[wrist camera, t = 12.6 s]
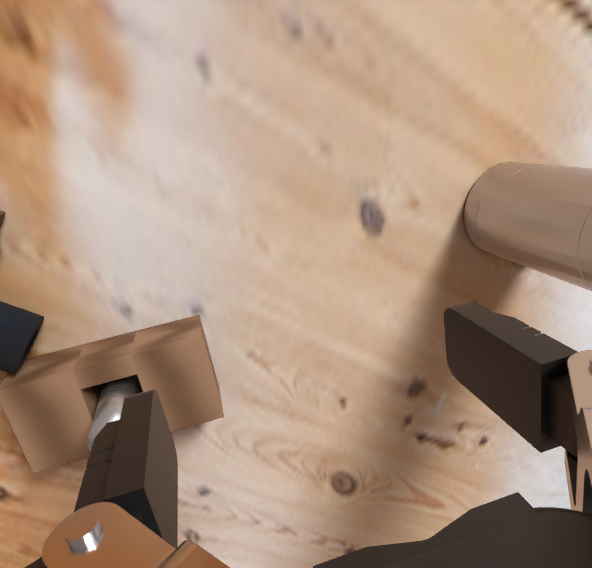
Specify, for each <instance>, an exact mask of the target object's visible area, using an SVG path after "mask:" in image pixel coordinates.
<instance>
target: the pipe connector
mask: <svg viewBox="0 0 592 568" xmlns="http://www.w3.org/2000/svg"><path fill="white" fill-rule="evenodd" d="M4 216H5V212H3V211H0V226H1V223H2V221H3V218H4ZM43 320H44V316H41V315H38V314H35V313H32V312H29V311H26V310H24V309H21V308H18V307H15V306H12V305H9V304H7V303H4V302H1V301H0V370H1V371H5V372H8V373H11V374H17V372H18V371H19V369H20V368H21V366H22V365H23V363H24V361H25V359H26V357H27V356H28V354H29V352H30V350H31V348H32V346H33V344H34V341H35V339H36V337H37V334H38V332H39V330H40V328H41V325H42V323H43Z"/></svg>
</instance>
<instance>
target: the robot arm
mask: <svg viewBox="0 0 592 568" xmlns="http://www.w3.org/2000/svg"><path fill="white" fill-rule="evenodd" d="M464 221H465V228H466V231H467V233H468V236H469V237H470V239H471V240H472V242H473V243H474V244H475V245H476V246H477V247H478V248H480V249H482V250H484V251H486V252H489V253H491V254H494V255H497V256H499V257H502V258H505V259H507V260H510V261H512V262H515V263H517V264H520V265H523V266H526V267H528V268H531V269H534V270H536V271H539V272H542V273H544V274H547V275H550V276H553V277H555V278H558V279H561V280H563V281H566V282H569V283H571V284H574V285H577V286H579V287H582V288H585V289H588V290H590V291H592V169H591V168H578V167H565V166H553V165H542V164H529V163H513V162H508V163H503V164H499V165H497V166H495V167H493V168H491V169H489V170H488V171H487V172H485V173H484V174H483V175H482V176H481V177H480V178H479V179H478V180H477V181H476V183H475V184H474V186H473V187H472V189H471V191H470V193H469V196H468V198H467V201H466V205H465V210H464ZM444 326H445V340H446V354H447V362H448V365H449V368H450V370H451V372H452V374H453V376H454V377H455V378H456V379H457V380H458V381H459V382H460V383H461V384H462V385H464V386H465V387H466V388H467V389H468V390H469V391H470V392H472V393H473V394H474V395H475V396H476V397H477V398H478V399H480V400H481V401H482V402H483V403H484V404H485V405H486V406H488V407H489V408H490V409H491V410H492V411H493V412H494V413H496V414H497V415H498V416H499V417H500V418H501V419H502V420H504V421H505V422H506V423H507V424H508V425H509V426H511V427H512V428H513V429H514V430H515V431H516V432H517V433H519V434H520V435H521V436H522V437H523V438H524V439H525V440H527V441H528V442H529V443H530V444H531V445H532V446H533V447H535V448H536V449H537V450H538V451H539V452H540V453H541V452H544V451H547V450H550V449H553V448H556V447H559V446H562V447H563V448H565V468H566V475H567V483H568V490H569V497H570V504H571V510H570V509H563V508H553V507H538V508H533V507H532V506H531V505H530V504H529V503H528V502H527V501H526V500H525V499H524V498H523V497H522V496H521V495H520V494H519V493H518V492H517V493H514V494H511V495H509V496H506V497H503V498H500V499H498V500H495V501H492V502H489V503H487V504H484V505H481V506H478V507H476V508H473V509H470V510H469V511H468V512H466V513H465V514H463V515H462V516H461V517H459V518H458V519H456V520H455V521H454V522H452V523H451V524H449V525H448V526H447V527H445V528H444V529H442V530H441V531H439V532H438V533H437V534H435V535H434V536H432V537H431V538H429V539H427V540H423V541H416V542H407V543H398V544H389V545H380V546H372V547H365V548H363V549H360V550H357V551H354V552H352V553H349V554H346V555H343V556H340V557H338V558H335V559H332V560H329V561H327V562H324V563H321V564H318V565H316V566H313V568H592V350H586V351H581V352H577V351H575V350H573V349H571V348H570V347H568V346H566V345H564V344H562V343H560V342H558V341H557V340H555V339H553V338H551V337H549V336H547V335H545V334H541V332H540V331H538V330H536V329H534V328H532V327H530V328H529V325H527V324H525V323H523V322H521V321H519V320H518V319H516V318H513V317H510V316H506V315H502V314H498V313H493V312H492V311H490V310H488V309H486V308H484V307H483V306H481V305H479V304H477V303H475V302H468V303H465V304H461V305H457V306H454V307H450V308H447V309H446V310H445V313H444ZM86 467H87V470H85V474H84V477H83V481H82V484H81V488H80V492H79V495H78V499H77V502H76V506H75V510H74V513H72V514H71V515H69V516H68V517H66V518H65V519H64V520H63V521H61V522H60V523H59V524H58V525H57V526H56V527H55V528H54V529H53V531H52V532H51V533H50V534H49V536H48V538H47V539H46V541H45V543H44V546H43V549H42V557H40V558H39V559H38V560H36V561H35V562H33V563H31V564H30V565H28V566H27V567H25V568H230V567H228V566H227V565H226V564H224V563H223V562H221V561H220V560H218V559H217V558H216V557H214V556H213V555H211V554H210V553H209V552H207V551H206V550H204V549H203V548H202V547H200V546H199V545H197V544H196V543H194V542H192V541H189V540H185V541H184V542H183V543H182V544H181V545H180V546H179V547H178V548H177V501H178V464H177V455H176V449H175V445H174V441H173V438H172V435H171V431H170V428H169V425H168V422H167V419H166V416H165V413H164V410H163V407H162V404H161V401H160V398H159V395H158V393H157V391H156V390H155V389H153V390H149V391H146V392H142V393H139V394H135V395H131V396H128V397H125V398H124V402H123V407H122V412H121V416H120V419H119V420H115V421H112V422H108V423H106V424H105V426H104V427H103V428H102V429H101V431H100V432H99V433H98V434H97V436H96V437H95V438H94V441H93V445H92V448H91V452H90V457H89V459H88V463H87V466H86Z"/></svg>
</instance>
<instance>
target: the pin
mask: <svg viewBox="0 0 592 568" xmlns="http://www.w3.org/2000/svg"><path fill="white" fill-rule="evenodd" d="M139 388H140V381H139V378H138V375H137V374H136V375H132V376H128V377H124V378H121V379H117V380H113V381H110V382H106V383H104V385H103V389H102V392H101V395H100V399H99V402H98V405H97V409H96V412H95V415H94V419H93V422H92V425H91V429H90V432H89V435H88V439H87V445H88V448H89V450H90V451H91V448H92V445H93V441H94V438H95V437H96V436H97V434H98V433H99V432H100V431H101V429H102V428H103V427H104V426H105V424H106V423H108V422H112V421H115V420H119V419H120V416H121V412H122V407H123V402H124V398H125V397H128V396H131V395H135V394H139Z"/></svg>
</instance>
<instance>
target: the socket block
mask: <svg viewBox="0 0 592 568" xmlns="http://www.w3.org/2000/svg"><path fill="white" fill-rule="evenodd" d="M136 374H137V375H138V378H139V381H140V384H141V387H142V390H143V392H146V391H149V390H153V389H155V390H156V391H157V393H158V395H159V398H160V401H161V404H162V407H163V410H164V413H165V416H166V419H167V422H168V425H169V428H170V431H171V432H174V431H178V430H181V429H185V428H188V427H191V426H195V425H198V424H202V423H205V422H208V421H212V420H215V419H218V418H222V417H224V415H223V409H222V403H221V396H220V390H219V386H218V382H217V378H216V375H215V371H214V367H213V364H212V360H211V356H210V353H209V349H208V345H207V342H206V338H205V334H204V331H203V327H202V323H201V320H200V316H199V315H197V316H193V317H189V318H185V319H181V320H177V321H173V322H170V323H166V324H162V325H158V326H154V327H150V328H146V329H142V330H138V331H134V332H130V333H126V334H123V335H119V336H115V337H111V338H107V339H103V340H99V341H95V342H91V343H87V344H83V345H80V346H76V347H72V348H68V349H64V350H60V351H56V352H52V353H48V354H44V355H40V356H36V357H33V358H29V359H25V361H24V363H23V365H22V366H21V368H20V369H19V371H18V372H17V374H11V373H8V374H7V375H6V376H5V378H4V379H3V381H2V382H1V383H0V403H1V405H2V407H3V410H4V412H5V414H6V416H7V418H8V420H9V422H10V425H11V427H12V429H13V431H14V433H15V435H16V437H17V439H18V442H19V444H20V446H21V448H22V450H23V452H24V454H25V457H26V459H27V461H28V463H29V465H30V467H31V469H32V471H33V473H36V472H39V471H42V470H46V469H49V468H53V467H56V466H59V465H63V464H66V463H70V462H73V461H76V460H80V459H83V458H86V457H90V452H91V451H90V450H89V448H88V445H87V439H88V435H89V432H90V429H91V425H92V422H93V419H94V415H95V412H96V409H97V405H98V402H99V399H100V395H101V392H102V389H101V386H100V384H102V383H106V382H110V381H113V380H117V379H121V378H124V377H128V376H132V375H136Z"/></svg>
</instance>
